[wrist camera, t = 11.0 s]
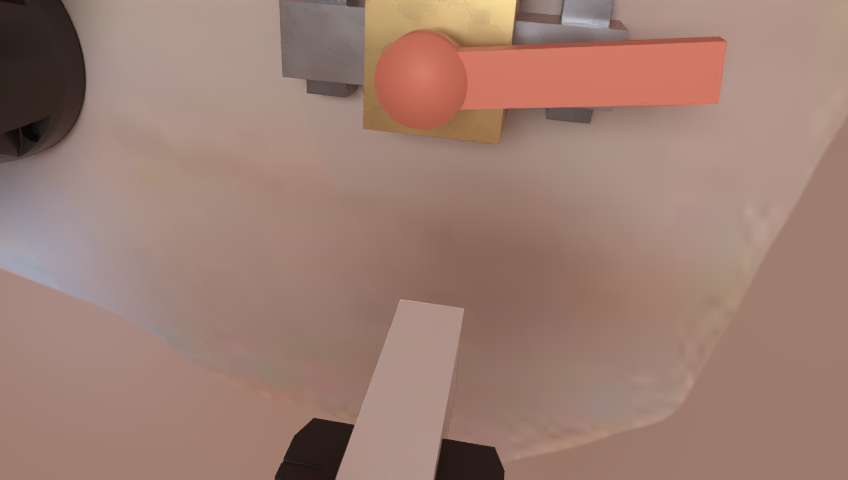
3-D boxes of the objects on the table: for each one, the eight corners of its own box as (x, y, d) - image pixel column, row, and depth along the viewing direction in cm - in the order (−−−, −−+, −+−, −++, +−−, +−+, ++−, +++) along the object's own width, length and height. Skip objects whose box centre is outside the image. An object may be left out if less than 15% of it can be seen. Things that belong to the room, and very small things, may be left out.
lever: (387, 120, 28) (378, 130, 27) (378, 31, 27) (369, 36, 25) (707, 114, 26) (716, 125, 24) (720, 14, 24) (731, 19, 23)
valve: (308, 87, 38) (245, 127, 30) (305, -34, 35) (233, -25, 27) (600, 118, 36) (615, 171, 28) (625, -9, 33) (650, 9, 25)
